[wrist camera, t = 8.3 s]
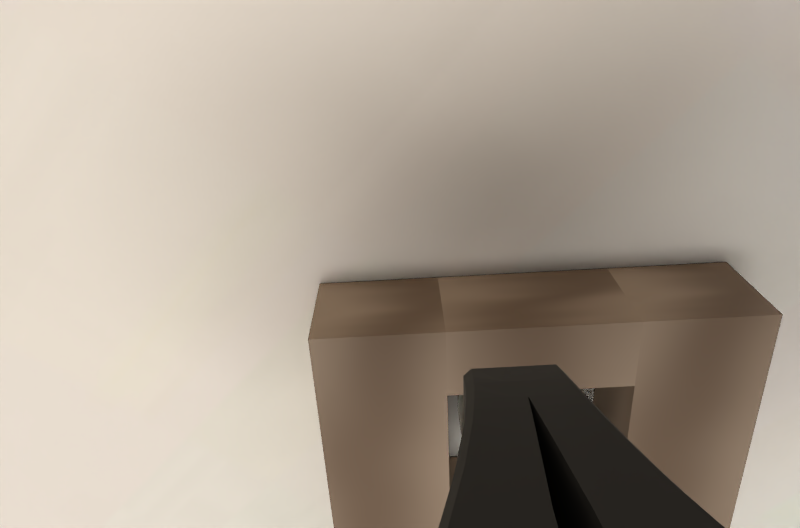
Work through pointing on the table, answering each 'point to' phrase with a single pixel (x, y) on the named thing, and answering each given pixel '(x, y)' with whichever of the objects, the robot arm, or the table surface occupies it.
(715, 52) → the table surface
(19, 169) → the table surface
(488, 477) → the robot arm
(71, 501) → the table surface
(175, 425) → the table surface
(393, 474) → the brown wooden tray
